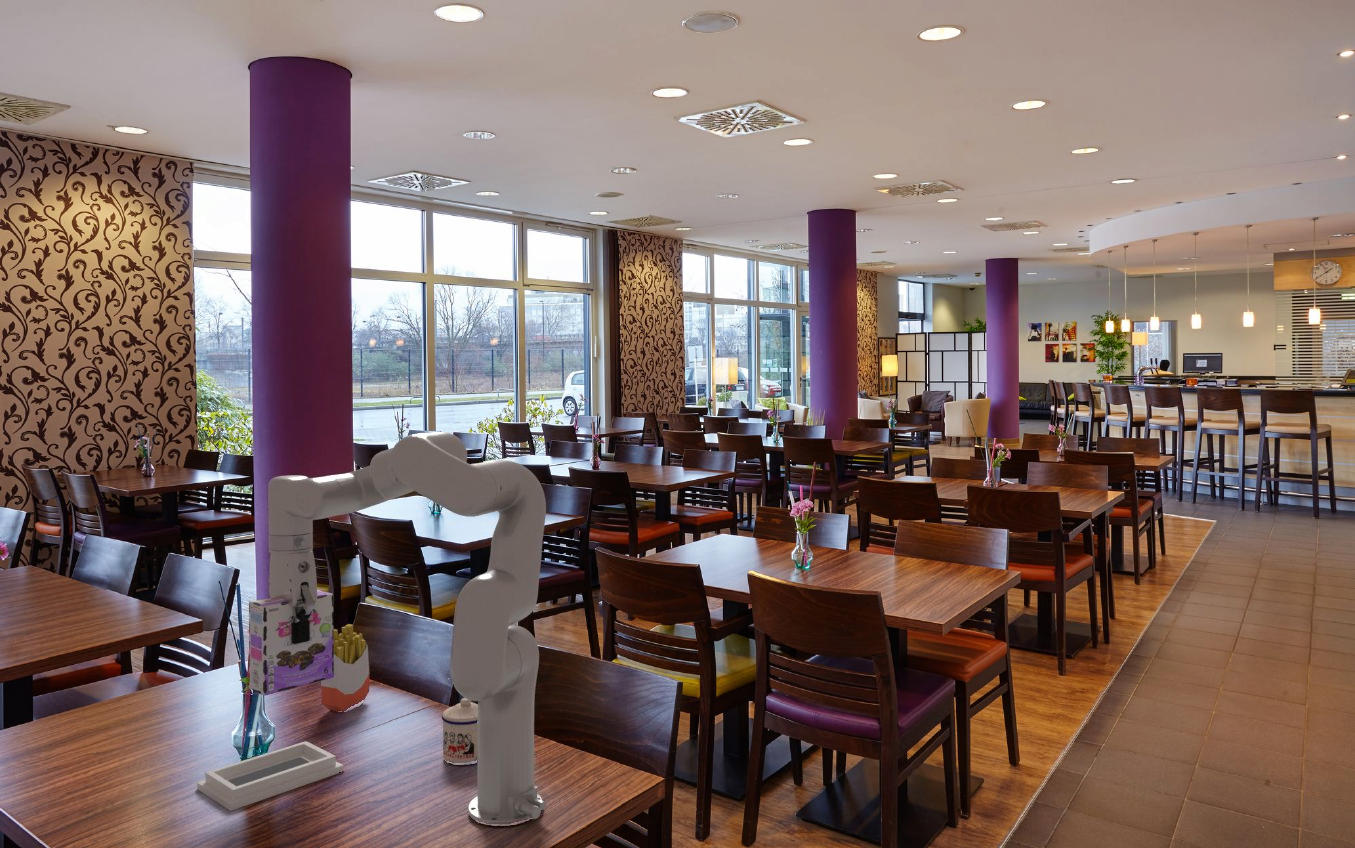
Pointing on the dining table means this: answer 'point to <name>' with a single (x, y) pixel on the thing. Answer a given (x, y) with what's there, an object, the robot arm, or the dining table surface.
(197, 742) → the dining table surface
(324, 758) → the grey rectangular tray
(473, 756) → the teacup with lid
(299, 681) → the candy box
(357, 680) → the french fries container
